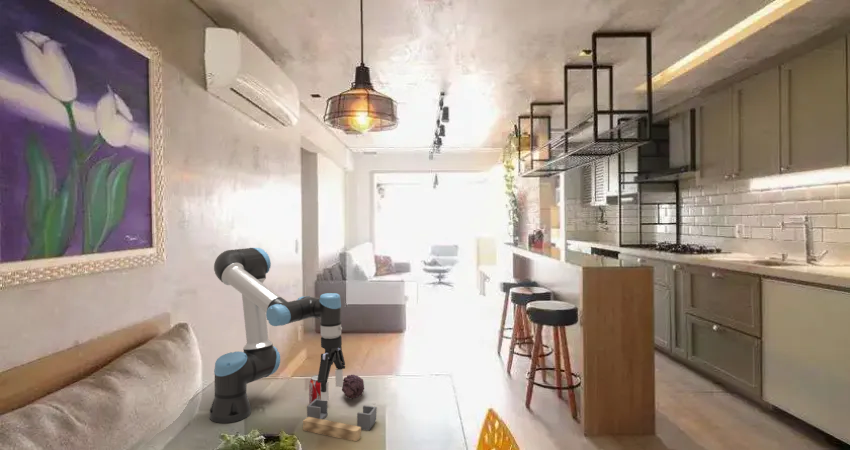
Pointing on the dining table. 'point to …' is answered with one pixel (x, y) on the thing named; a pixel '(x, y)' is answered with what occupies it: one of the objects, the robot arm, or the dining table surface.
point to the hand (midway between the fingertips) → (332, 393)
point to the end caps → (363, 419)
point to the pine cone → (353, 386)
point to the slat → (332, 428)
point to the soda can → (314, 389)
